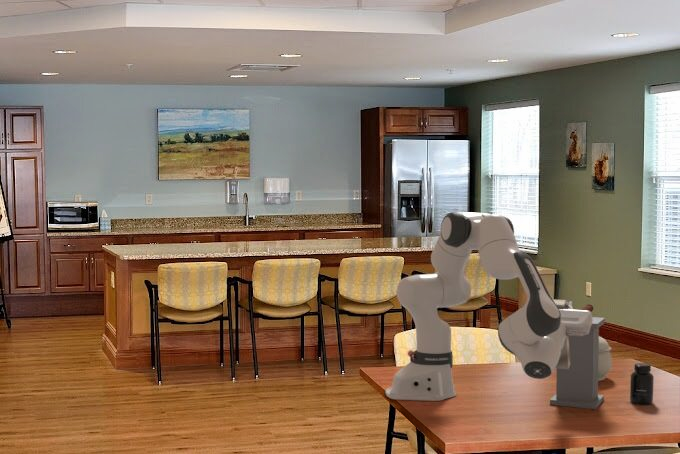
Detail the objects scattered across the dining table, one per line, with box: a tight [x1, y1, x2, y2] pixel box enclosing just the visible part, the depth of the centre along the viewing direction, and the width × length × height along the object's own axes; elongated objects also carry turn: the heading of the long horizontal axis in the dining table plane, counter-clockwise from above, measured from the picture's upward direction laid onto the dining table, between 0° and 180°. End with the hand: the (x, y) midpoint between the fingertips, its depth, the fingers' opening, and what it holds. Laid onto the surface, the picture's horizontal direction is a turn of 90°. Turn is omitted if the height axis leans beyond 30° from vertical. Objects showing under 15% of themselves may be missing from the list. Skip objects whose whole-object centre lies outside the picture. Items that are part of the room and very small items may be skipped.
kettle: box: [579, 304, 613, 382], centre depth 343 cm, size 25×18×25 cm
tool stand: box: [549, 316, 606, 410], centre depth 305 cm, size 13×14×26 cm
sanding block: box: [552, 298, 570, 369], centre depth 281 cm, size 21×4×3 cm
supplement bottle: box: [629, 362, 655, 406], centre depth 306 cm, size 7×7×12 cm
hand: (559, 303), depth 279 cm, fingers closed on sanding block, 4 cm apart
